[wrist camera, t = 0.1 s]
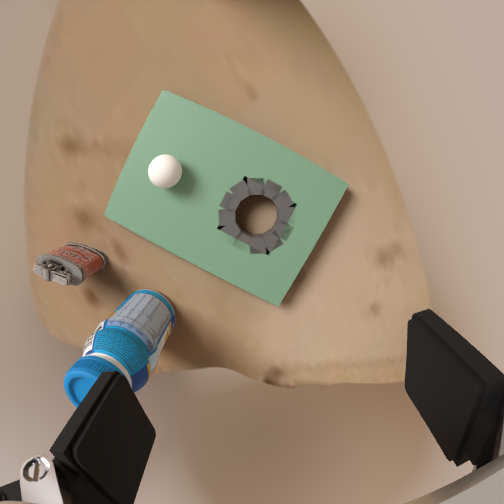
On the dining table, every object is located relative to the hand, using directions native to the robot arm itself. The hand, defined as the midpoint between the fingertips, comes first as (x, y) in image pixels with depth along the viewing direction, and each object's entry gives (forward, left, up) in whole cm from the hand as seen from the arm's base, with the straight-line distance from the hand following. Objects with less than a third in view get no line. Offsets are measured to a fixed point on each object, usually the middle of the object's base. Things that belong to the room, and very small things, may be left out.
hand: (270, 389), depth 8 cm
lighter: (+16, -21, -31) cm, 41 cm away
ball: (-1, -13, -27) cm, 30 cm away
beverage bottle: (+19, -8, -31) cm, 37 cm away
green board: (-1, -6, -31) cm, 32 cm away
